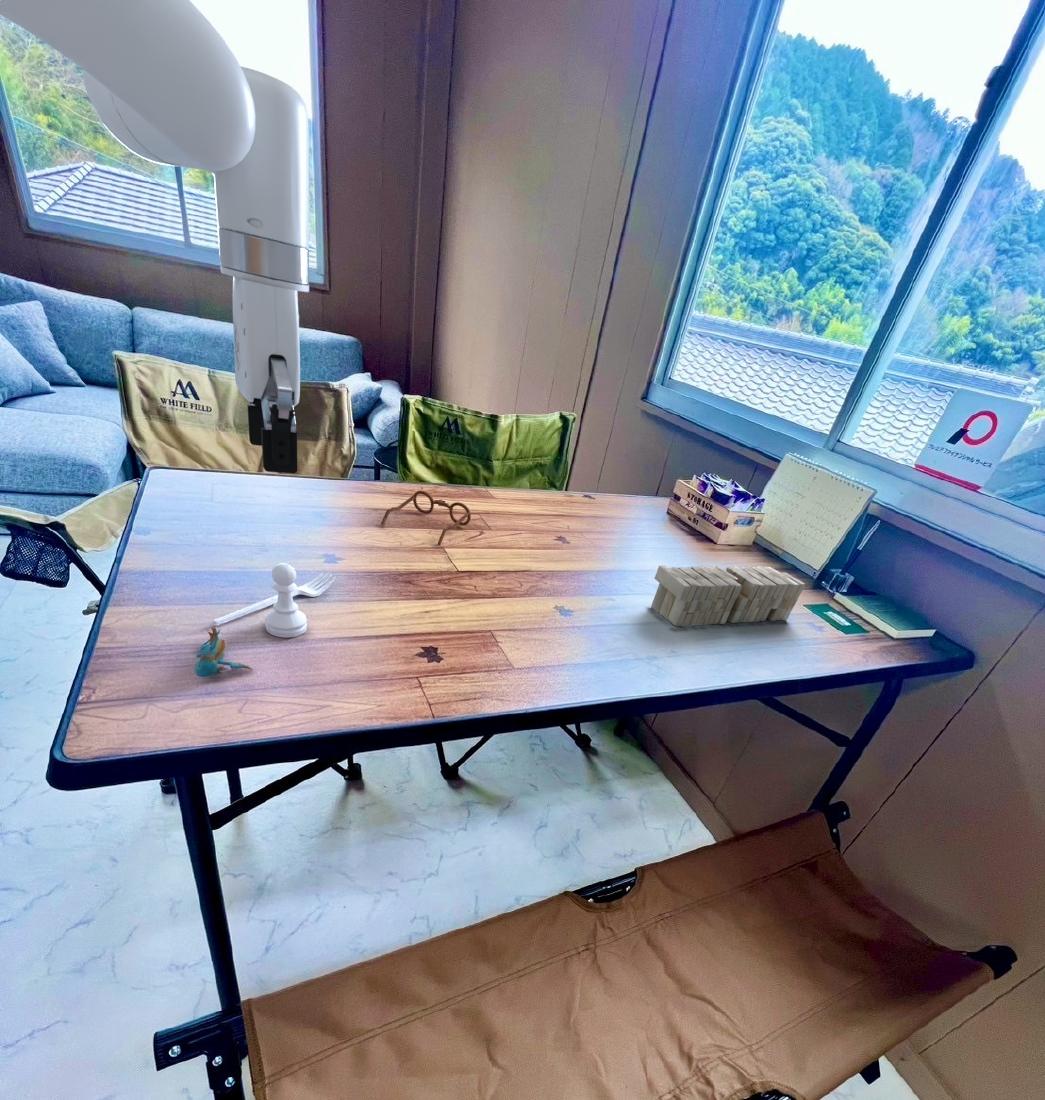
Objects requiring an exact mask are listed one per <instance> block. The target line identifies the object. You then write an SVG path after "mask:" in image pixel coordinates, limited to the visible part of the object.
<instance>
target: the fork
mask: <svg viewBox="0 0 1045 1100" xmlns="http://www.w3.org/2000/svg"><path fill="white" fill-rule="evenodd" d="M325 572H326V569H325V570H323V571H322V572H321V573H319V574H318V575H317V576H316V577H314V578H313V579H311V580H310V581H308V582H307V583H305V584H303V585H301V586H297V589H296V590H295V591H293V592H292V598H294V597H296V596H298V595H303V596H307V597H311V598H315V597H319V596H320V595H322V594H323V593H325V591H326V590H327V589H328V588H329V587H330V586H331V585H332V584H333V582H334V581H335V579H336V578H337V575H336V574H335V575H334V576H333V573H329V572H330V571H327V572H326V573H325ZM332 576H333V577H332ZM277 601H278V594H276V595H273V596H271V597H268V598H265V599H263V600H261V601H258V602H255V603H253V604H251V605H248V606H246V607H242V608H241V609H238V610H236V611H235V610H234V611H233V612H230V613H228V614H226V615H225V614H224V615H222V616H220V617H218V618H216V619H213V621H212V625H213V626H215V627H218V626H220V625H223V624H225V623H227V622H228V623H229V622H230V621H233V620H235V619H238V618H241V617H244V616H246V615H250V614H251V613H254V612H256V611H259V610H262V609H264V608H267V607H269V606H272V605H274V604H275V603H276V602H277Z"/></svg>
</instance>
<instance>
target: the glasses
mask: <svg viewBox="0 0 1045 1100" xmlns="http://www.w3.org/2000/svg"><path fill="white" fill-rule="evenodd" d="M418 495H424V496H426V497H427V498H428V500H429V502H430V507H429V509H428V510H425V509H423V508H421V507H420V506H419V505H418V501H417V497H418ZM411 502H412V503H413V505H414V507H415V509H417V511H418V512H419V513H421V514H425V515H427V514H431V513H433V510H434V508H435V507H434V506H435V505H439V506H442V507H445V508H447V509H448V510H449V516H450V519H451V521H452V522H453V524H452V525H448V526H446V527H445V528H443V529H442V532H441V534H440V537H439V539H438V541H437V544H438V546H441V545H442V543H443V540H444V538H445V536H446V533H447V532H448V531H450V530H453V529H455V528H457V527H458V526H463V527H465V526H467V525H469V523H470V521H471V517H472V514H471V511H470V509H469V507H468V506H467V505H466V504H465V503H462V502H459V501H456V502H453V503H451V504H448V503H447V502H444V501H440V500H435V499H434V498H433V496H432V495H430V493H428V492H427V491H425V490H417V491H415V493H414V494H413V495H411V496H410V497H409V498H407V499H406V500H405V501H403V502H402V503H401V504H399V505H398V506H393V507H391V508H388V509H386V511H385V514H384V515H383V517H382V519H381V522H380V525H381V526H382V527H384V526H385V524H386V521H387V520H388V517H389V515H390V513H391V512H394V511H401V510H402V509H403V508H405V507H406V506H407V505H408V504H410V503H411ZM457 506H458V507H461V508H463V510H465V512H466V513H465V514H463V515H462V516H461V517H460V518H459V519H458V520H457V519H456V518H455V516H454V513H453V509H454V507H457ZM464 520H466V521H464Z"/></svg>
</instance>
